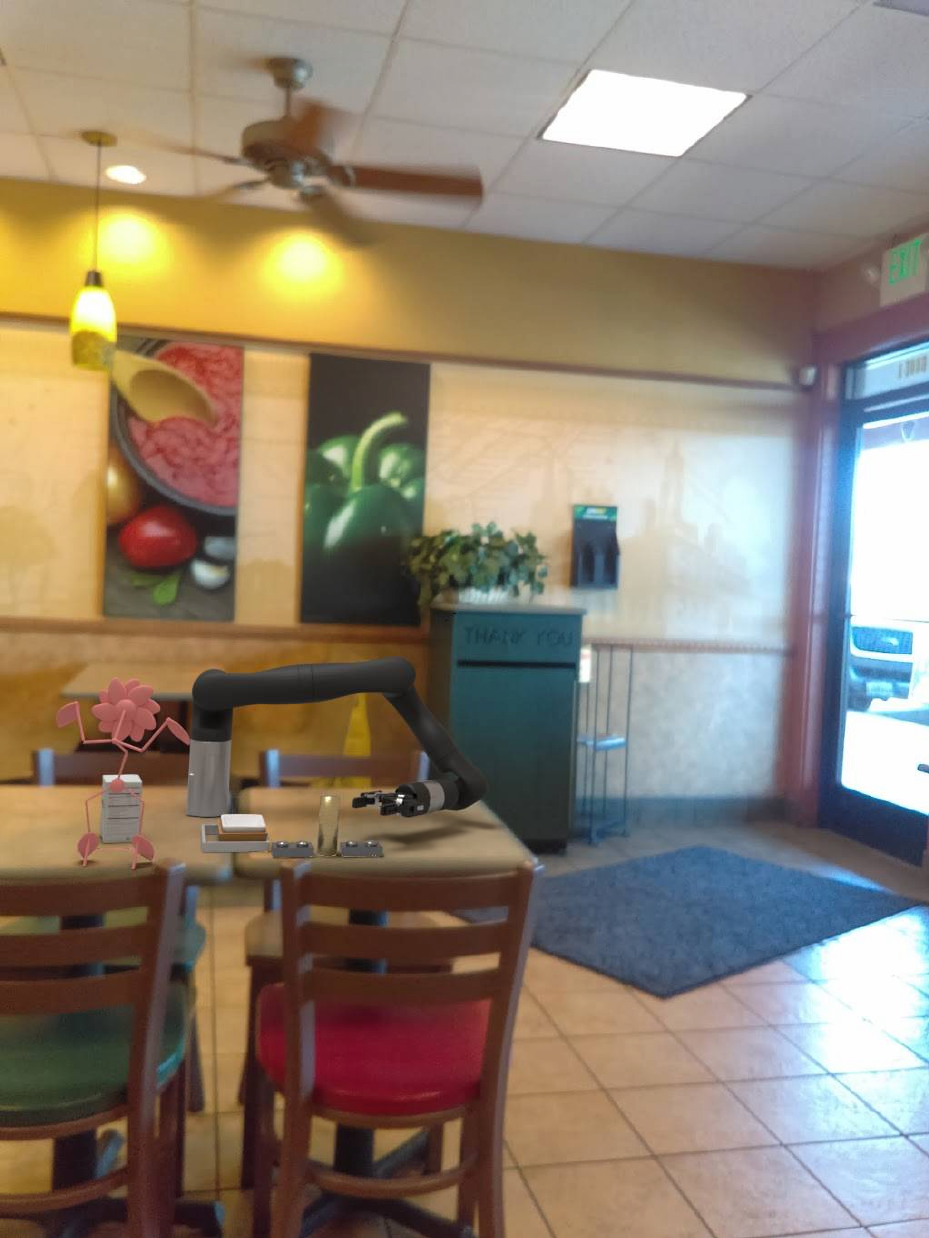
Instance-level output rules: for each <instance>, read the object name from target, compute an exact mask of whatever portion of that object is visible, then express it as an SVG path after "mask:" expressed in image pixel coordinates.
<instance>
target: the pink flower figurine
mask: <svg viewBox="0 0 929 1238" xmlns="http://www.w3.org/2000/svg"><path fill="white" fill-rule="evenodd" d="M140 684H141V683H140V680H139V679H138V678H132V679H129V680H128V681H127V682H126V683H125V684H124V683H123V682H122V680H120V679H119V677H113V678H112V679H111V681H110V682H109V684H108V688H107V689H103V688H102V689H101V690H99V693H98V696H99V697H98V698H99V702H100V703H99V704H95V705H94V706H92V708H91V709H90V711H91V713H92V714H93V715H94V717H96V718H97V719H99V720H101V721H100V722H99V723H98V731H100V732H102V733H111V739H95V740H94V739H93V740H86V739H85V734H84V733H85V732H84V729H83V728H84V727H83V725H82V719H81V714H80V713H81V706H80V705H79V702H78V701H74V702H69V703H67V704H65V705H64V706H62V707H61V708H60V709H59V710H58V711H57V713H56V716H55V722H56V725H57V727H58V728H59V729H60V728H62V727H65V726H67V725H69V724H72V723H73V722H74V721H75V720H77V724H78V729H79V733H80V737H81V738H80V739H81V741H82V744H83V745H86V744H100V743H112V744H113V745H116V746H117V747H118V748H120V749H121V751H123V752H124V756H123V759H122V762H121V765H120V768H119V772H118V774H117V775H118V778H116V779H114V780H112V781H111V783H110V787H109V788H107V789H105V790H103V791H102V790H101V791H100V792H97V793H96V794H93V795H92V796H90V797H88V798H87V799H85V800H84V801H85V804H84V805H85V813H86V823H87V833H85V834H83V835H82V836H81V837H80V839H79V840H78V842H77V851H75V853H79V854H80V856H81V857H82V858H83V862H82V868H83V867H84V868H86V867H87V863H88V862H87V861H88V857H89V856H90V855H92V853H93V852H94V851H96V850H97V851H100V850H102V848H101V847H99V848H98V846H99V841H100V840H99V837H98V834H97V833H95V832H94V831H92V832H91V827H90V817H89V815H90V814H89V808H88V807H89V805H88V802H89V801H90V800H92V799H94V798H95V797H97V796H99V795H102V793H103V792H105V791H107V790H109V789H111V791H113V792H115V793H119V792H121V791H123V789H125V790H126V791H128V792H129V793H131V794H132V795H133V796H135V797H136V798H137V799H139V800H140V801H142V802H141V803H142V804H141V821H140V828H139V835H138V834H137V836H136V835H134V836H133V837H132V842H131V844H132V846H133V847H132V848H129V847H125V850H134V853H133V859H132V863H131V864H132V865H131V869H132V870H135V868H136V863H137V858H138V854H139V856H141V857H143V858H144V859H146V860H148V861H150V862H152V860H153V859H154V856H155V849H154V845H153V844H152V843H151V842H150V841H149V840H148V839H147V838H146V837H145V836H144V835H142V827H143V819H144V812H145V806H146V805H145V800H143V798H142V799H141V798H139V797H138V796H137V795H135V794H134V793H132V792H131V791H130V790H128V789H127V788H126V787H125V783H124V781H123V780H121V779H120V776H121V775H122V772H123V770H124V767H125V764H126V762H127V759H128V755H129V751H128V750H127V749H126V748H129V749H131V750H134V751H137V752H139V753H141V754H143V752H144V751H146V749H147V748H148V747H149V746H150V745H151V744H152V742H153V741H154V740H155V739H156V737H158V735H159V734H160V733H161V732H162V731H163V729H165V727H166V726H167V727H168V729H169V730H170V732H171V733H172V734H173V735H174V736H175V737H176V738H177V739H179V740H180V741H182V742H183V743H184V744H186V745H187V746H190V739H191V738H190V736H189V734H188V733H187V731H186V730H185V729H184V728H183V727H182V726H181V724H179V723H178V722H177V721H176V720H174V719H171V718H170V717H167V718H166V720H165V721H164V722H163V724H162V725H161V726H159V729H157V722H156V718H155V716H154V715H155V714H157V713H159V712H160V711H161V706H160V704H159V703H158V702H156V701H155V700H153V699H151V696H153V694H154V688H153V687H152V686H150V685H147V684H146V685H144V684H143V685H140ZM155 729H157V730H156V732H155V733H154V734H153V735H152V737H150V739H149V740H148V742H146V743H145V745H144V746H142V748H140V747H137V746H133V745H131V744H129V743H126V742H123V741H124V740H125V739H126V738H128V737H130V738H131V740H132V741H133V742H136V743H137V742H141V740H142V739H143V737H144V735H145V730H147V731H153V730H155ZM125 747H126V748H125ZM107 850H124V847H120V848H119V847H118V848H112V847H111V848H107Z"/></svg>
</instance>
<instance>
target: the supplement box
mask: <svg viewBox="0 0 929 1238" xmlns="http://www.w3.org/2000/svg"><path fill="white" fill-rule="evenodd" d="M118 775H119V774H104V775H102V786H101V787H102V788H101V791H103V790H105V789H107V788H109V787H110V783H111V781H112V780H114V779H116V778H118ZM120 779H121V780H123V781H124V783H125V787H126V788H127V789H128V790H130V791H131V792H132V793H134V794H135V795H137V796H138V797H139V798H141V799H142V800H143V798H142V797H143V781H142V779H141V777H140V776H139V775H138V774H121V776H120ZM142 803H143V802H142V801H140V800H139V799H137V798H136V797H135V796H133V795H132V794H131V793H129V792H128V791H126V790H125V789H123V791H121V792H119V793H115V792H113V791H111V789H109V790H107V791H105V792H103V793H102V794H101V803H100V805H101V806H100V822H99V823H100V827H99V835H100V836H101V838H102V842H103V843H104V844H113V843H115V844H117V843H132V837H133V836H134V835H136V836H137V834H138V835H139V828H140V821H141V813H142Z"/></svg>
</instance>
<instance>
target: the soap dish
mask: <svg viewBox="0 0 929 1238" xmlns="http://www.w3.org/2000/svg"><path fill="white" fill-rule="evenodd" d="M217 824H218V828H219V834H218V835H219V837H220V842H244V841H265V840H266V838H267V836H268V837H269V831H268V827H267V825H266V822H265V819H264V816H263V815H262V814H254V813H253V814H251V813H249V814H246V813H245V814H244V813H243V814H242V813H239V814H238V813H236V814H235V813H234V814H233V813H231V814H229V813H227V814H224V815H221V816H220V819H217Z"/></svg>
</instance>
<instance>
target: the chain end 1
mask: <svg viewBox="0 0 929 1238" xmlns="http://www.w3.org/2000/svg"><path fill="white" fill-rule="evenodd" d="M314 849H315V848H314V844H313V843H312V842H311V841H308V840H297V841H292V842H291V841H287V840H277V841H276V842H275V841H274V842H271V850H270V853H271V852H272V853H271V856H273V857H310V856H313V857H314ZM273 857H272V858H273Z"/></svg>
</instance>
